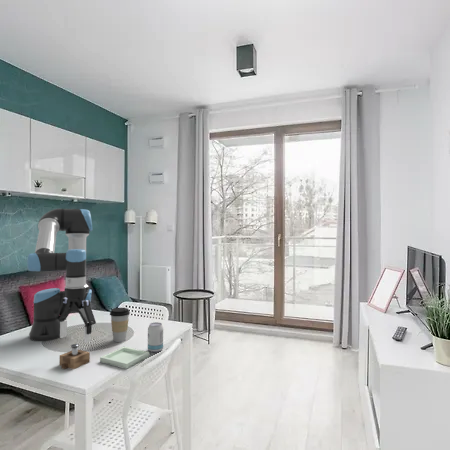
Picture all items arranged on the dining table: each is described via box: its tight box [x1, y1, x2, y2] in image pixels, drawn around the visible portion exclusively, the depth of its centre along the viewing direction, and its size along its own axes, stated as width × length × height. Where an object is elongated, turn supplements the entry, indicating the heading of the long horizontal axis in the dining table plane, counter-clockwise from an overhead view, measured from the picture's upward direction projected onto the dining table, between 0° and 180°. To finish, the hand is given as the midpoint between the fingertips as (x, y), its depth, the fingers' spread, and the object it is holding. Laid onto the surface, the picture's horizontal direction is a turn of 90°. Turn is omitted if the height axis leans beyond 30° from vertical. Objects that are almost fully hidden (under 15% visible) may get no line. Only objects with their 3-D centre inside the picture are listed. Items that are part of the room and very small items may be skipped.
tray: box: [99, 346, 150, 370], centre depth 145 cm, size 14×14×2 cm
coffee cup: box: [109, 307, 131, 343], centre depth 168 cm, size 9×9×15 cm
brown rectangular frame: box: [58, 349, 91, 370], centre depth 139 cm, size 10×8×4 cm
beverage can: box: [147, 321, 164, 354], centre depth 155 cm, size 7×7×12 cm
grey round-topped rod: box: [70, 343, 80, 357], centre depth 140 cm, size 3×3×8 cm
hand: (75, 339), depth 139 cm, fingers open, 13 cm apart
